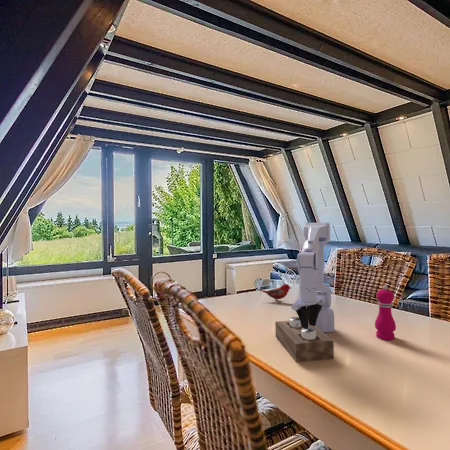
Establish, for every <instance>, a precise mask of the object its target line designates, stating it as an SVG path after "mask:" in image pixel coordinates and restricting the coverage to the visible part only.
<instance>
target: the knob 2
mask: <svg viewBox="0 0 450 450" xmlns="http://www.w3.org/2000/svg"><path fill="white" fill-rule="evenodd" d="M301 338H302V339H303V340H304V341H306V340H316V330H315V329H313V328H308V329H304V328H302V329H301Z"/></svg>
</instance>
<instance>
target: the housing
mask: <svg viewBox="0 0 450 450" xmlns="http://www.w3.org/2000/svg"><path fill="white" fill-rule="evenodd" d="M274 324H275V327H274V328H275V329H274V330H275V338H276V340H277V341H278V342H279V343H280V345H282V347H283V348H284V349H285V351H286V352H287V353H288V354H289V355H290V357H292V359H293V360H294V361H295V363H299V362H300V363H302V362H311V361H322V360H323V361H324V360H332V359H334V358H335V357H334V356H335V355H334V354H335V353H334V352H335V351H334V345H335V344H334V342H335V341H334V340H333V339H332V338H331V337H330V336H329V335H327V334H326V332H322V331H321V330H320V329H318V328H317V327H316V326H312V325H309V323H308V328H313V329H315V330H316V340H306V341H304V340H303V339H302V338H301V329H302V327H299V328H291V327H289V320H280V321H275V323H274Z"/></svg>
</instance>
